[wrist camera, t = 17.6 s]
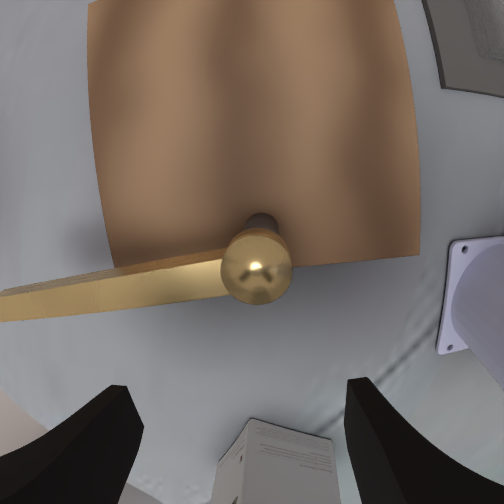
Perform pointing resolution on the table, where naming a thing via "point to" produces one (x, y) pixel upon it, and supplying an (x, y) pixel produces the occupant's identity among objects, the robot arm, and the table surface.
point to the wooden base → (253, 127)
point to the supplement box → (276, 468)
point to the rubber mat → (461, 51)
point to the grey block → (487, 27)
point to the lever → (163, 281)
